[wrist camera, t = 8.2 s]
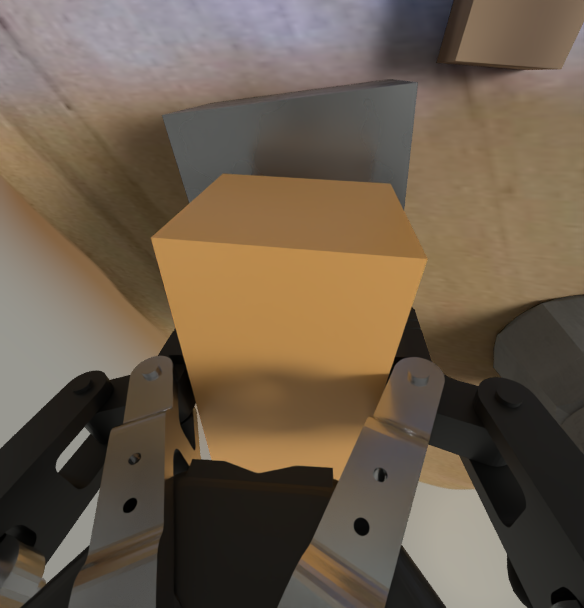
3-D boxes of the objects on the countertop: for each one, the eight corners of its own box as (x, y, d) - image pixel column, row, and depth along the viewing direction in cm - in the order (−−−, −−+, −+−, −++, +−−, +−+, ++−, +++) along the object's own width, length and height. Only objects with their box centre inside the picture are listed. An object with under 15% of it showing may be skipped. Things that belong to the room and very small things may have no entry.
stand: (259, 311, 24) (241, 369, 20) (213, 102, 16) (161, 115, 11) (375, 309, 23) (386, 371, 18) (391, 79, 15) (417, 82, 10)
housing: (223, 173, 10) (150, 237, 6) (390, 183, 10) (428, 259, 6) (243, 371, 16) (213, 467, 12) (347, 382, 16) (351, 486, 12)
